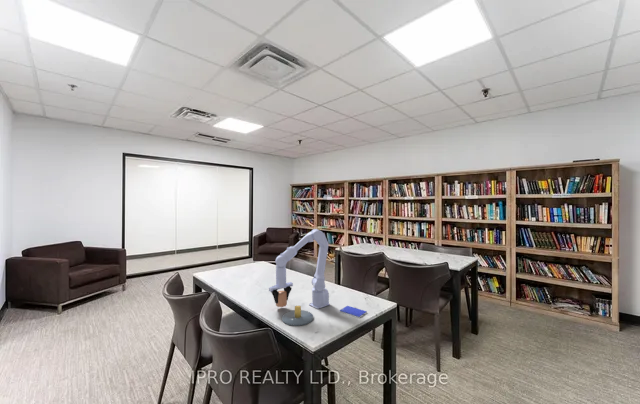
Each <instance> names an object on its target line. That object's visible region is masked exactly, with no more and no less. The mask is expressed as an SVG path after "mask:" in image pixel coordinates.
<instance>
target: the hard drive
mask: <svg viewBox="0 0 640 404" xmlns="http://www.w3.org/2000/svg"><path fill="white" fill-rule="evenodd" d="M339 313H342V314H345V315H348V316H350V317H354V318H357V317H358V318H357V319H360V318H362V317H363V316H365V315H366V314H367V313H368V311H367V310H363V309H359V308H358V307H352V306H350V305H346V306H345V307H343V308H341V309H339ZM364 314H365V315H364Z"/></svg>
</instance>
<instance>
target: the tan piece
mask: <svg viewBox="0 0 640 404" xmlns="http://www.w3.org/2000/svg"><path fill="white" fill-rule="evenodd" d="M277 291H278V292H279V294H278V303H275V306H276V307H277V308H284V307H286V306H288V300H287V292H286V291H284V290H277Z"/></svg>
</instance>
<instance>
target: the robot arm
mask: <svg viewBox="0 0 640 404" xmlns="http://www.w3.org/2000/svg"><path fill="white" fill-rule="evenodd" d="M314 241H315V242H316V243H317V244H318V245H319V248H318V254H317V262H316V268H315V272H314V275H313V278H312V279H311V284H312V286H313V287H312V288H311V296H312V297H311V298H312V301H311V303H309V304H308V305H309V306H311V307H312V308H315V309H317V310H319V309H321V308H324V307H327V306H330V305H331V304H330V301H329V300H330V299H329V298H330V293H329V290H328V289H327V288H326V284H325V278H326V277H325V272H326V271H325V270H326V265H327V258H328V257H327V256H328V249H329V242H328V239H327V237H326V234H325V233H324V232H323V231H322V230H320V229H318V228H313V229H312V230H311V231H309V232H308V233H306V234H305V235H304V236H303V237H302V238H301V239H300V240H299V241H298V242H297V243H296V244H295V245H291V246H287V247H286V250H285V251H283V252H281V253H280V254H279V255H277V256H276V258H275V264H276V266H275V284H274V285H272V286H270V287H268V292H270V293H271V295H272V297H273V301H274V304H276V303H278V294H279V292H278V291H279V290H282V289H283V291H286V292H287V301H289V300H288V299H289V297H290V293H291V291H292V287H294V283H293V282H291V281H290V282H287V267H286V266H287V263H288V262H290V261H291V260H292V259H293V258H294V257H295V256H296V255H297V254H298V252H299V250H300V249H301V248H302V247H304V246H305V245H306V244H307V243H312V242H314Z"/></svg>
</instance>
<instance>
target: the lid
mask: <svg viewBox="0 0 640 404" xmlns="http://www.w3.org/2000/svg"><path fill="white" fill-rule="evenodd" d="M281 320H282V321H281V322H282V323H284V324H285V325H288V326H293V327H294V326H295V327H299V326H301V327H302V326H306V325H308V324H310V323H312V322H313V320H314V315H313V313H312V312H310V311H308V310H303V309H301V317H300V318H295V309H294V310H291V311H287V312H285V313H284V314H283V315H282V317H281Z"/></svg>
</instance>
